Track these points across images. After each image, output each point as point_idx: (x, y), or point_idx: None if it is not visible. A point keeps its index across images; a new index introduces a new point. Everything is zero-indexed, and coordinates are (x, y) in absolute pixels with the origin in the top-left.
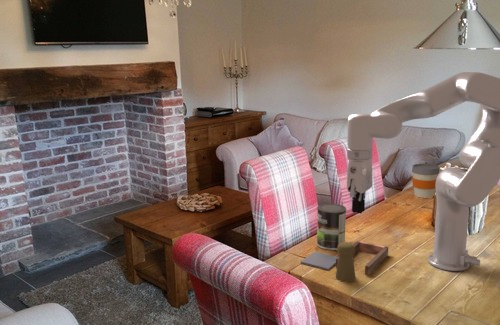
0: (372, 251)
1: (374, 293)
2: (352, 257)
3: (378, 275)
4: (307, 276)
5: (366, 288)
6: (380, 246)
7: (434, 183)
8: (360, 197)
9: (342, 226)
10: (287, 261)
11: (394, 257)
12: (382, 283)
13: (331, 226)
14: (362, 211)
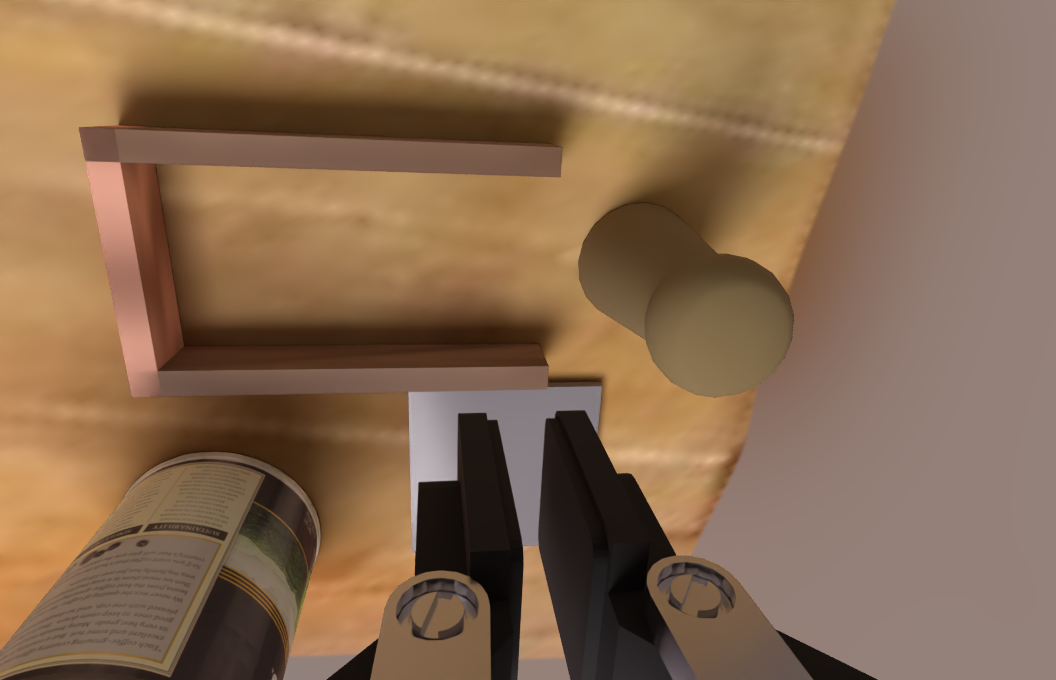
0: (161, 250)
1: (768, 25)
2: (695, 254)
3: (511, 82)
4: (716, 437)
5: (725, 95)
6: (116, 196)
7: None
8: (754, 636)
9: (170, 565)
10: None
11: (119, 64)
12: (615, 18)
13: (264, 623)
14: (495, 427)
